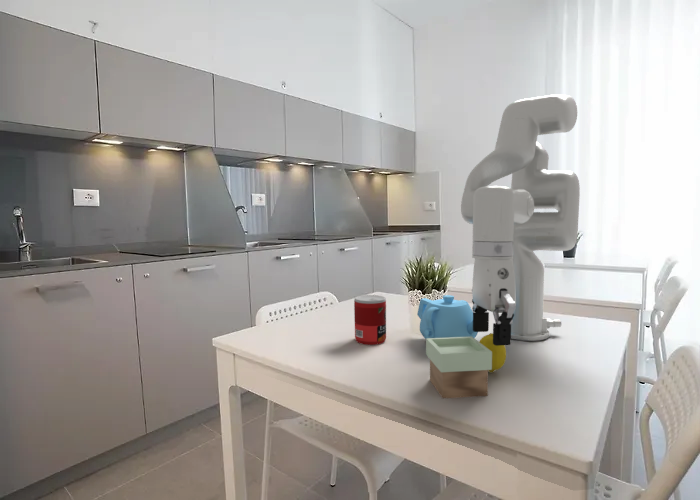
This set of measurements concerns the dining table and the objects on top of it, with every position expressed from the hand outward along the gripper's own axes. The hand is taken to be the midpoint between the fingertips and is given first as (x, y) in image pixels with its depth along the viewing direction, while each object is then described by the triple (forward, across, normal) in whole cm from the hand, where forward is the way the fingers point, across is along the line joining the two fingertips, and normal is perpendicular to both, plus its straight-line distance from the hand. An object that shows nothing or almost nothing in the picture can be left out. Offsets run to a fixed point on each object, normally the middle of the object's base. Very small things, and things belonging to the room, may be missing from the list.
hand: (490, 337), depth 81 cm
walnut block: (+8, -5, +8) cm, 13 cm away
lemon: (+7, +1, -1) cm, 8 cm away
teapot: (+7, +20, +1) cm, 21 cm away
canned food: (+7, +25, +20) cm, 33 cm away
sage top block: (+3, -5, +8) cm, 10 cm away
